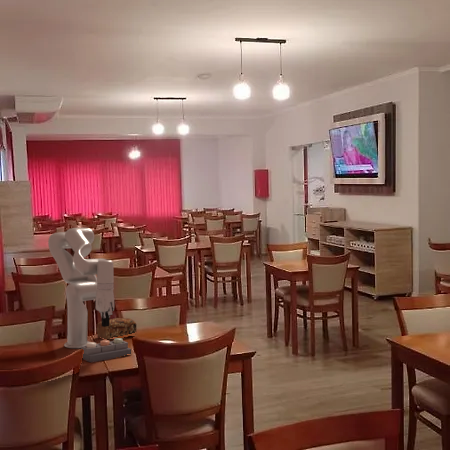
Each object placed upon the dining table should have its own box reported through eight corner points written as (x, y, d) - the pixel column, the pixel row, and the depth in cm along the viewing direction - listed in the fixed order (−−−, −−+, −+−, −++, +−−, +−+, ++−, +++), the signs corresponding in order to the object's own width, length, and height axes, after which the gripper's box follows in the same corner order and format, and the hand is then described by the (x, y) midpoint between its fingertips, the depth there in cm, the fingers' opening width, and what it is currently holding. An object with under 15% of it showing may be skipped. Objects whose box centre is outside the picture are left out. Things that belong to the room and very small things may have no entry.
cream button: (84, 348, 275) (84, 343, 275) (93, 347, 278) (93, 341, 278) (89, 350, 272) (89, 344, 272) (97, 349, 275) (97, 343, 275)
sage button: (112, 344, 284) (112, 338, 284) (119, 343, 287) (119, 337, 287) (116, 346, 281) (116, 340, 281) (124, 344, 284) (124, 339, 284)
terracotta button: (98, 346, 280) (98, 340, 280) (106, 345, 283) (106, 339, 282) (103, 348, 277) (103, 342, 277) (111, 346, 279) (111, 341, 279)
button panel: (78, 357, 278) (78, 345, 277) (118, 350, 291) (118, 338, 291) (90, 362, 268) (90, 350, 268) (131, 355, 282) (131, 343, 282)
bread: (105, 341, 309) (105, 322, 309) (96, 337, 318) (96, 318, 317) (137, 336, 321) (137, 318, 320) (127, 333, 329) (127, 315, 329)
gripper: (90, 285, 282) (90, 324, 282) (106, 289, 270) (106, 329, 271) (104, 284, 287) (104, 322, 287) (120, 287, 275) (120, 327, 276)
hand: (105, 326), depth 279 cm, fingers closed
